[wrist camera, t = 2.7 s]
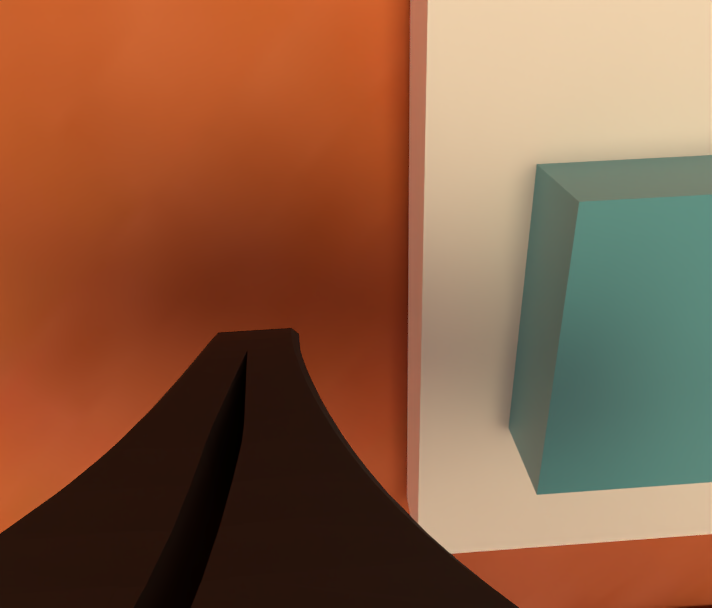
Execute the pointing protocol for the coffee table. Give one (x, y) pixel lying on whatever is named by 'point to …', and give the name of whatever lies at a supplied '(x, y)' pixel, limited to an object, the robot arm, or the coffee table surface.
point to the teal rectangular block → (616, 326)
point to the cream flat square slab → (525, 238)
